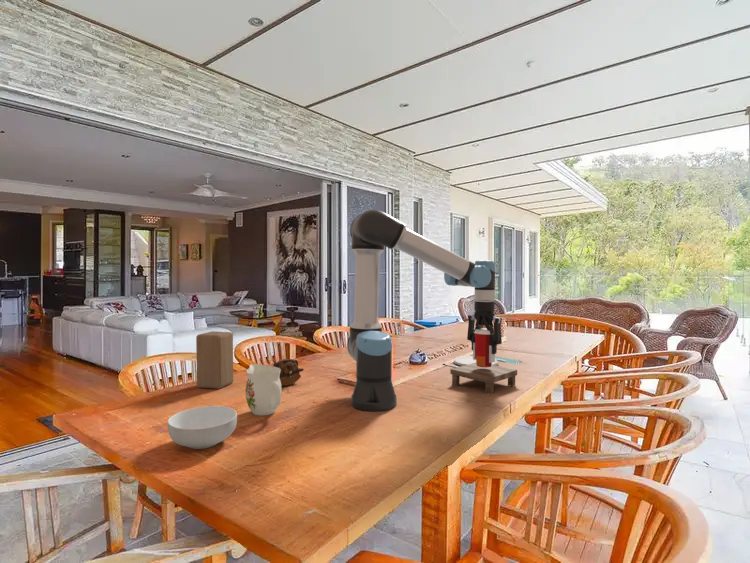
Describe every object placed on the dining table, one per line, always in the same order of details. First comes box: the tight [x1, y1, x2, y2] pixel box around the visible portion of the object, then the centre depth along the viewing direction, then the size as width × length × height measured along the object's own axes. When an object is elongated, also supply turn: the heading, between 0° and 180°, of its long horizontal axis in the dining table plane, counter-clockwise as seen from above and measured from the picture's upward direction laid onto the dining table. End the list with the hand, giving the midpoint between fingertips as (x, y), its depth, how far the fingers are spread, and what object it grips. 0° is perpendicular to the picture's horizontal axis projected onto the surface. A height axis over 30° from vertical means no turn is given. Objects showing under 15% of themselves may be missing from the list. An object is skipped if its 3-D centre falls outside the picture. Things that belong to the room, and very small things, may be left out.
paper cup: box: [474, 327, 495, 367], centre depth 168 cm, size 8×8×14 cm
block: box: [195, 330, 234, 390], centre depth 167 cm, size 10×10×20 cm
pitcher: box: [245, 363, 283, 417], centre depth 136 cm, size 11×18×14 cm, turn 41°
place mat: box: [444, 354, 521, 368], centre depth 205 cm, size 45×30×2 cm
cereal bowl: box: [166, 405, 238, 450], centre depth 113 cm, size 17×17×7 cm
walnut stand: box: [450, 363, 518, 395], centre depth 168 cm, size 18×18×6 cm
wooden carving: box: [272, 358, 305, 387], centre depth 167 cm, size 16×5×10 cm, turn 143°
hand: (483, 360), depth 168 cm, fingers closed on paper cup, 6 cm apart
